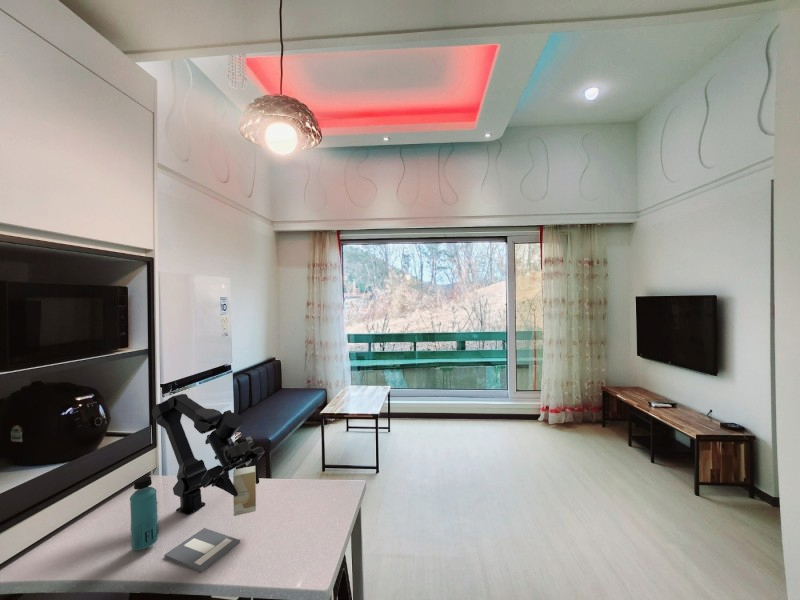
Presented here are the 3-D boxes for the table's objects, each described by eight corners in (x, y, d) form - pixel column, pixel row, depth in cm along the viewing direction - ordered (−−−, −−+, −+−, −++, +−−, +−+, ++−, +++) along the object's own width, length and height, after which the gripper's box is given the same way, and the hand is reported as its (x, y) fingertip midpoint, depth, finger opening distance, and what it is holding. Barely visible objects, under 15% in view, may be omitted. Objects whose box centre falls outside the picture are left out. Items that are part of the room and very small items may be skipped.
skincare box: (233, 517, 102) (231, 476, 101) (234, 509, 106) (232, 469, 105) (257, 511, 104) (255, 471, 104) (257, 503, 108) (255, 464, 108)
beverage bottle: (144, 557, 96) (141, 485, 96) (124, 554, 97) (122, 483, 97) (164, 541, 102) (162, 473, 102) (146, 538, 103) (143, 472, 103)
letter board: (164, 557, 95) (164, 554, 95) (204, 530, 106) (204, 527, 106) (201, 572, 89) (201, 569, 89) (239, 542, 100) (239, 539, 100)
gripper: (205, 442, 98) (231, 490, 93) (259, 421, 115) (284, 461, 110) (190, 464, 102) (214, 511, 97) (244, 441, 119) (268, 480, 113)
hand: (247, 489), depth 104 cm, fingers closed on skincare box, 7 cm apart
